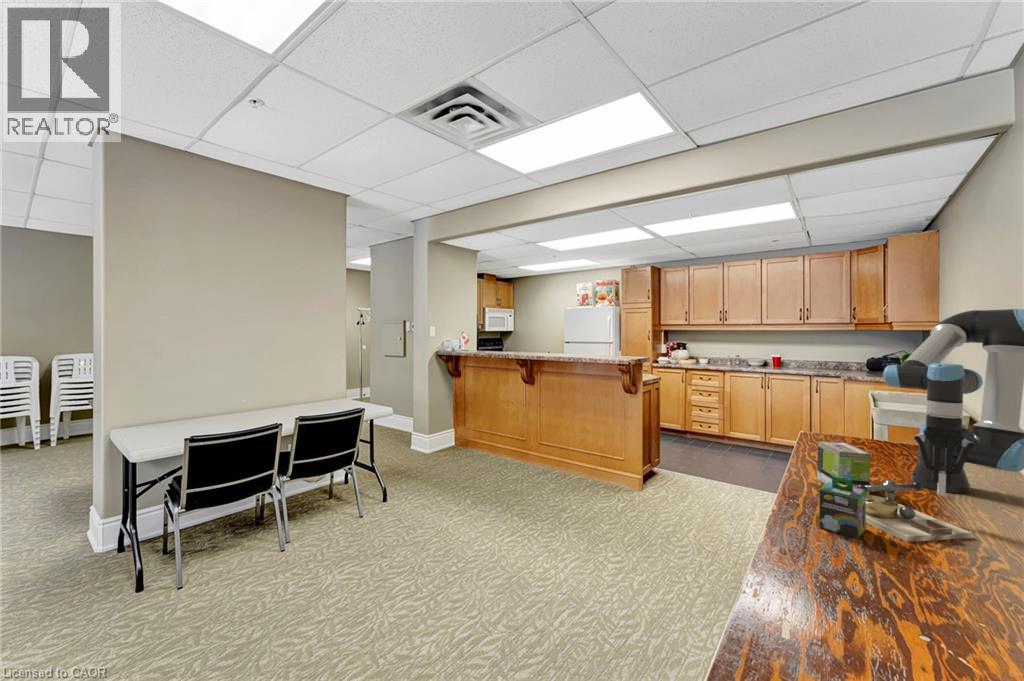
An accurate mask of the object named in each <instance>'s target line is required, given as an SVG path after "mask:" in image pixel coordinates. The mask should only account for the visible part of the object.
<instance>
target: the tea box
mask: <svg viewBox="0 0 1024 681" xmlns="http://www.w3.org/2000/svg"><path fill="white" fill-rule="evenodd" d="M871 460H872V459H871V453H870V452H867V451H865V450H863V449H861V448H859V447H856V446H853V445H852V444H849V443H847V442H833V441H818V442H817V467H816V468H817V470H816V476H817V477H816V479H817V480H819V481H820V482H822V483H823V484H824V485H825V484H827V483H828V482H831V483H832V477H839V478H843V479H848V480H851V481H852V483H853V487H856V488H857V486H858V485H865V486H871V485H870V480H871ZM838 484H841V485H846V486H847V484H846V483H844V482H842V481H839V482H838ZM866 495H870V492H867V493H866Z"/></svg>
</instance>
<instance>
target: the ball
mask: <svg viewBox="0 0 1024 681" xmlns="http://www.w3.org/2000/svg"><path fill="white" fill-rule="evenodd" d="M903 506H904V507H901V508H900V510H899V513H900V515H901V516H902V517H903V518H905V519H913V518H914V517H915V515H916V513H915V511H914V510H915V509H913V508H912V507H910V506H905V505H903Z"/></svg>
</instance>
